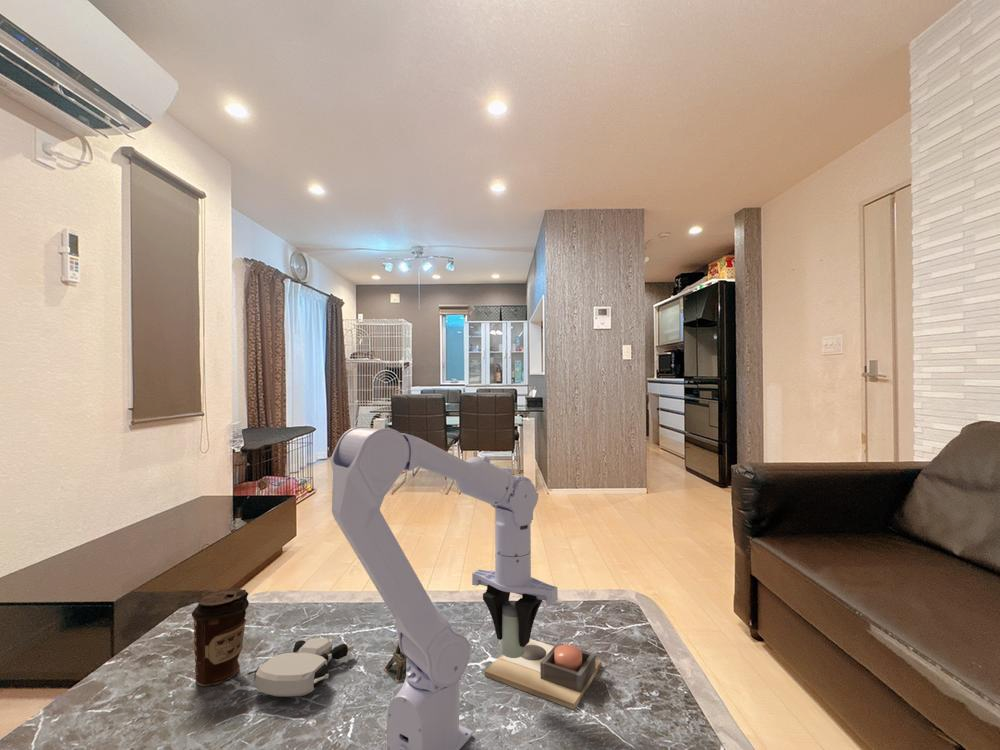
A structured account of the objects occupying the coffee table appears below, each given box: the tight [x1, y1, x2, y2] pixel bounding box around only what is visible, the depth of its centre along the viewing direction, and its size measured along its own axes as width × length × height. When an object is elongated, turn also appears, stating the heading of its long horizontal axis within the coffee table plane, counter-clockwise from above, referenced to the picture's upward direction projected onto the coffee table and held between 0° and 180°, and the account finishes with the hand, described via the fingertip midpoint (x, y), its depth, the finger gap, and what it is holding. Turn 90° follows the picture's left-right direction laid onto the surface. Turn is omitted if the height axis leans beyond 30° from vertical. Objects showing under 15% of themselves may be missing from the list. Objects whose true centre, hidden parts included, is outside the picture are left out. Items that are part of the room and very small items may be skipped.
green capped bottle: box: [501, 600, 524, 658], centre depth 67 cm, size 4×4×7 cm
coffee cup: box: [191, 587, 250, 687], centre depth 73 cm, size 9×8×13 cm
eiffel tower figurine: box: [382, 642, 407, 684], centre depth 74 cm, size 15×10×13 cm
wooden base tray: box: [484, 638, 602, 710], centre depth 74 cm, size 13×16×3 cm
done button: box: [554, 644, 582, 672], centre depth 72 cm, size 5×5×2 cm
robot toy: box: [242, 637, 355, 697], centre depth 72 cm, size 12×4×15 cm
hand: (513, 640), depth 67 cm, fingers closed on green capped bottle, 3 cm apart
